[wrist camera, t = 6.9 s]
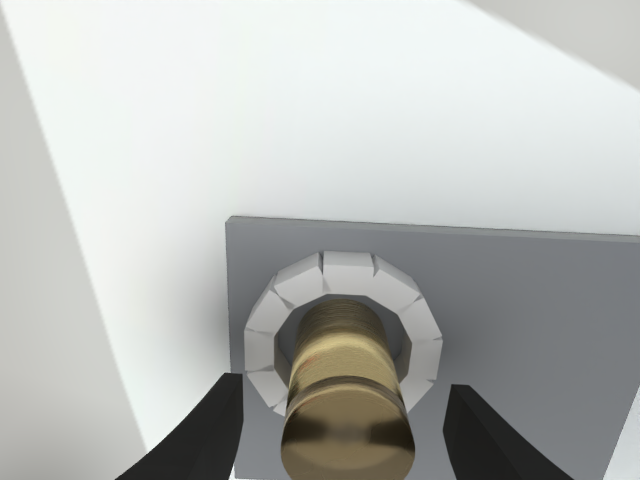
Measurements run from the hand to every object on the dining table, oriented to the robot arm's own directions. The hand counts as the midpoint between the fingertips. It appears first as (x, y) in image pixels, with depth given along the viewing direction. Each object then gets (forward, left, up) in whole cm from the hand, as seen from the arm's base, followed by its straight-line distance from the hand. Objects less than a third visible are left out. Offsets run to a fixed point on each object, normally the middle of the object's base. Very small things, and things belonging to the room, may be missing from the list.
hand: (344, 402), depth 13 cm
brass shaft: (0, 0, -4) cm, 4 cm away
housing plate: (-4, +2, -5) cm, 7 cm away
